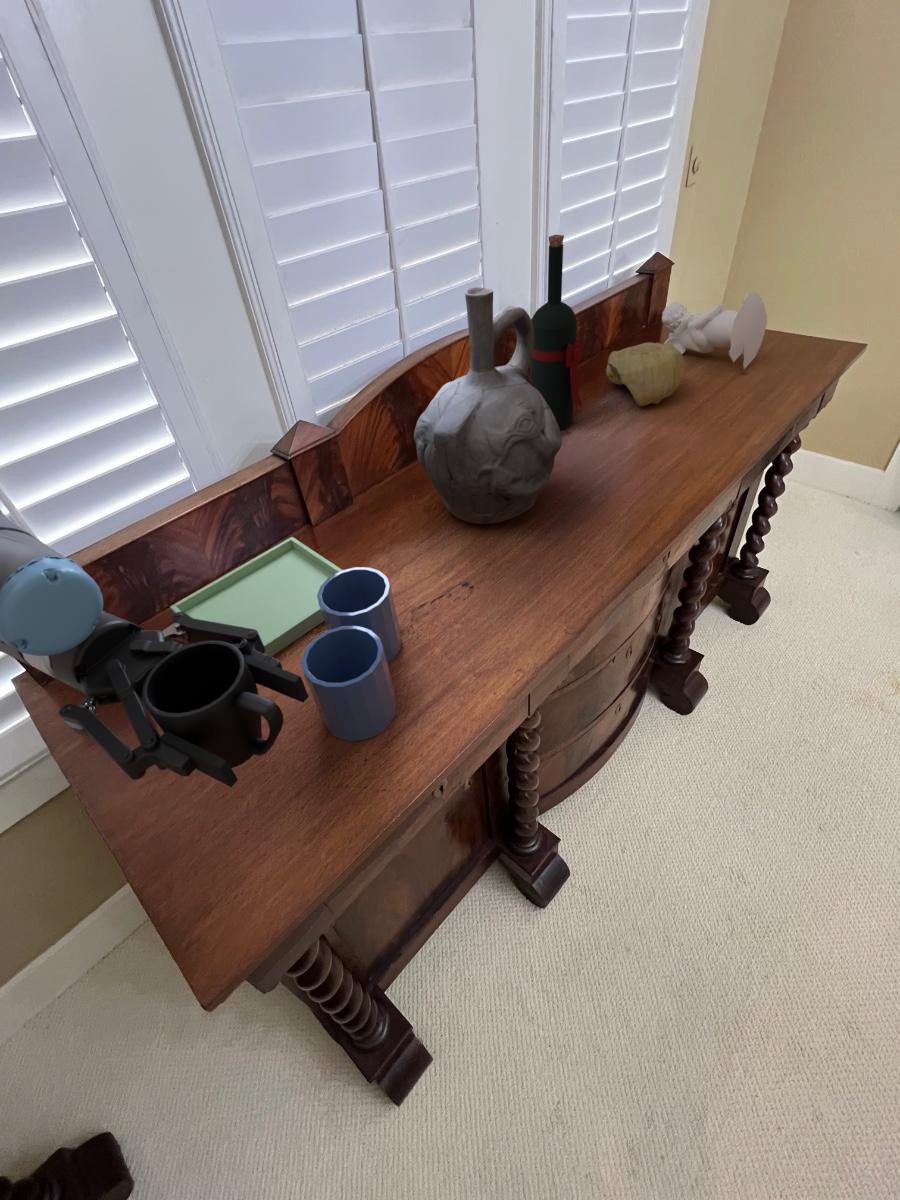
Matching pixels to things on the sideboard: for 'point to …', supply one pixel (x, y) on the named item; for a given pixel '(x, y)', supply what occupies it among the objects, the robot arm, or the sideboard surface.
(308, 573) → the tray
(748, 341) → the angel figurine
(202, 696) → the mug
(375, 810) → the sideboard surface
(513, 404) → the vessel
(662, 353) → the seashell
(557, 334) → the wine bottle
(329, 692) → the blue cup front
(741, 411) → the sideboard surface
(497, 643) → the sideboard surface
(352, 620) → the blue cup back
